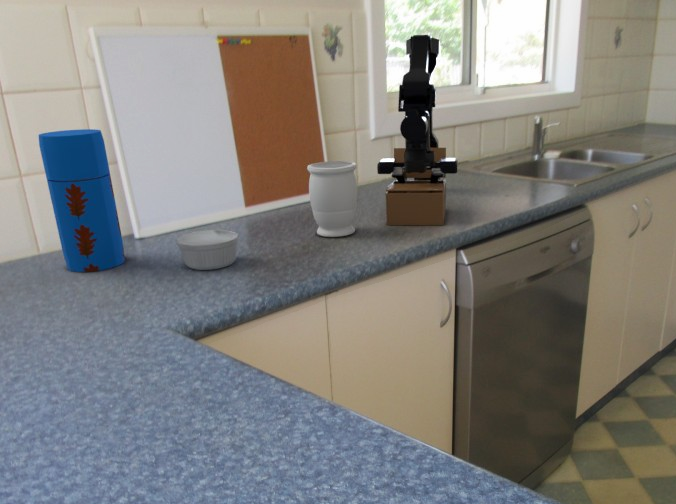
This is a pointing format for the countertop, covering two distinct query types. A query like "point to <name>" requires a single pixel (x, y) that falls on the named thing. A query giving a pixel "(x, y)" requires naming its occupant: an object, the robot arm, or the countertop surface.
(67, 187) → the thermos
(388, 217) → the carton
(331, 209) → the jar
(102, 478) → the countertop surface
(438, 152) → the flap
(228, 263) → the ramekin
